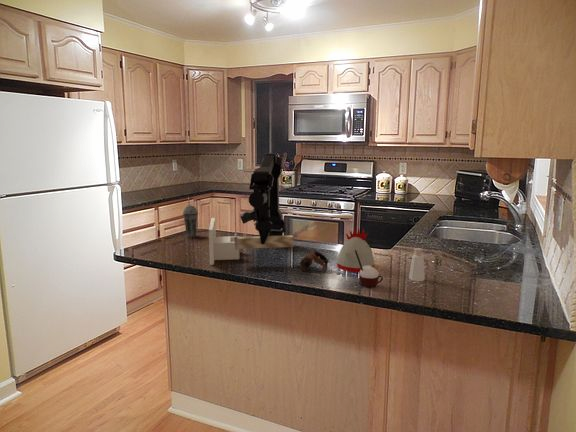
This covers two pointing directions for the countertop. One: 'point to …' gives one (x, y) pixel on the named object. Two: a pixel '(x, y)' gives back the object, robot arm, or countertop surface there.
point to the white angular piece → (221, 246)
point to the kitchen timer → (348, 255)
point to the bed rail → (269, 243)
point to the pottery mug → (314, 256)
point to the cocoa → (368, 275)
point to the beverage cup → (190, 220)
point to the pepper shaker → (417, 266)
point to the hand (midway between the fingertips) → (262, 243)
